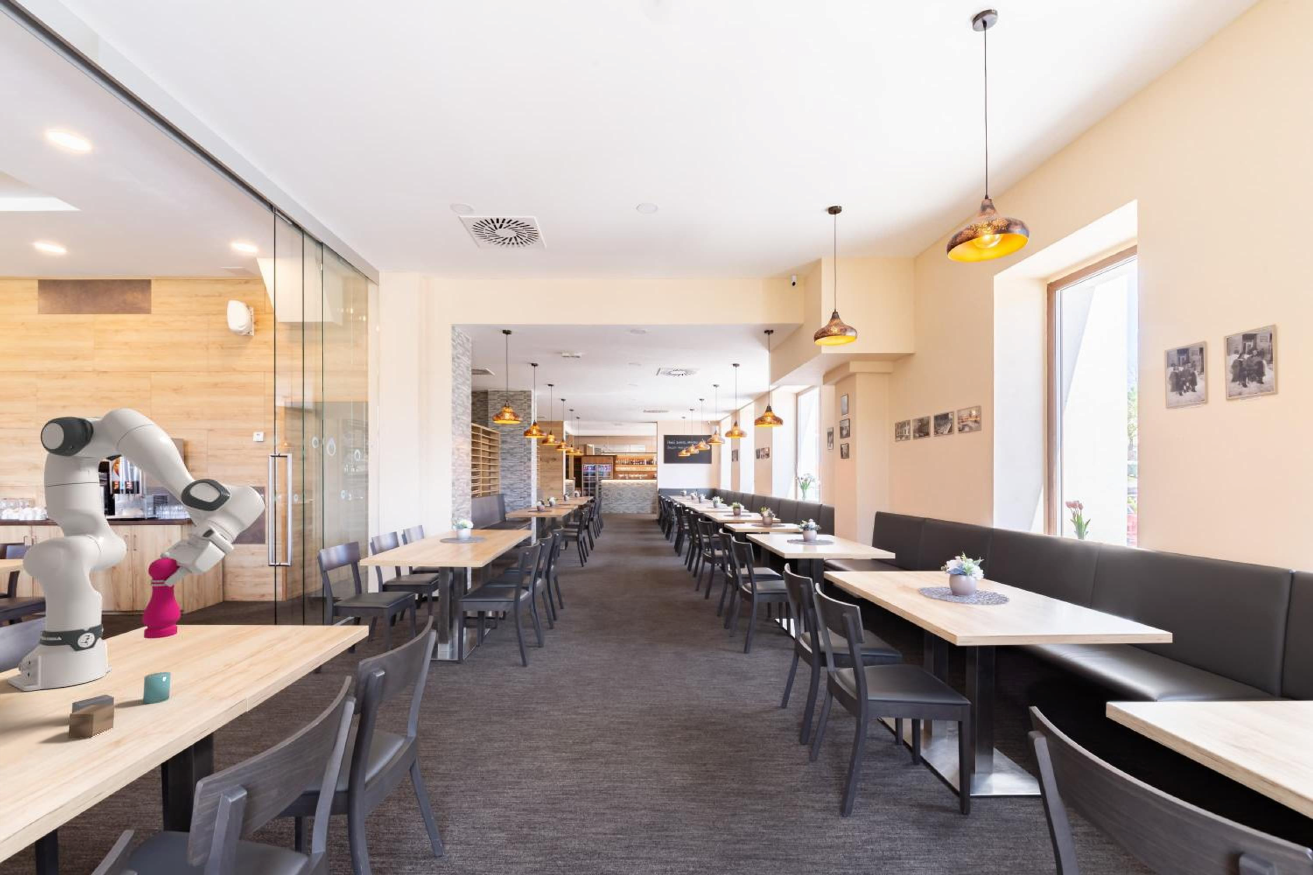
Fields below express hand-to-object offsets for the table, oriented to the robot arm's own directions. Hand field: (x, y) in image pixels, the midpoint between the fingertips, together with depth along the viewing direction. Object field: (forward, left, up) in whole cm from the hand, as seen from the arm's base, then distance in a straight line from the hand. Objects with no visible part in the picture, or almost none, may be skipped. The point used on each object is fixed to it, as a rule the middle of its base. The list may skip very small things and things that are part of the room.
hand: (160, 583), depth 146 cm
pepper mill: (0, +1, -13) cm, 13 cm away
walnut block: (+3, -14, -29) cm, 33 cm away
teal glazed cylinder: (-5, +4, -29) cm, 30 cm away
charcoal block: (-7, -8, -29) cm, 31 cm away
